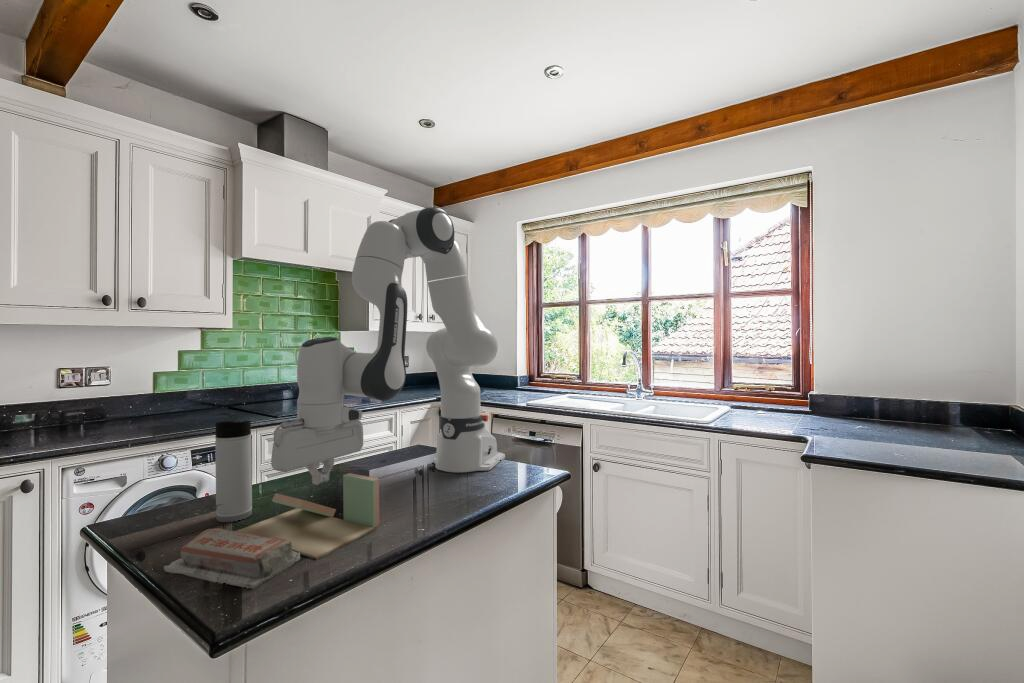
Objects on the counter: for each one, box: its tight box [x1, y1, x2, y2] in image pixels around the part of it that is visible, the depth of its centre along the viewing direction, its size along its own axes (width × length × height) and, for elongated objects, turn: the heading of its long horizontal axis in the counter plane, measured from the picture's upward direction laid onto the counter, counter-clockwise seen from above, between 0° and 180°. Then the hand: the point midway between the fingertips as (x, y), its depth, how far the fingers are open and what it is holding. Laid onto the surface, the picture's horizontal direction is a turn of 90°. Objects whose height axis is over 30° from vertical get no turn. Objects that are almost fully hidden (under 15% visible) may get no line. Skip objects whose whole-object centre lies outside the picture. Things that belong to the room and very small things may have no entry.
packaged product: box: [163, 527, 301, 590], centre depth 75 cm, size 18×5×10 cm
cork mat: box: [236, 508, 376, 560], centre depth 87 cm, size 13×22×1 cm, turn 62°
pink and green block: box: [342, 472, 380, 528], centre depth 91 cm, size 2×8×9 cm, turn 62°
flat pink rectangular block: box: [271, 492, 337, 518], centre depth 93 cm, size 2×8×9 cm
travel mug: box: [214, 420, 253, 523], centre depth 94 cm, size 6×7×20 cm
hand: (320, 482), depth 96 cm, fingers closed
